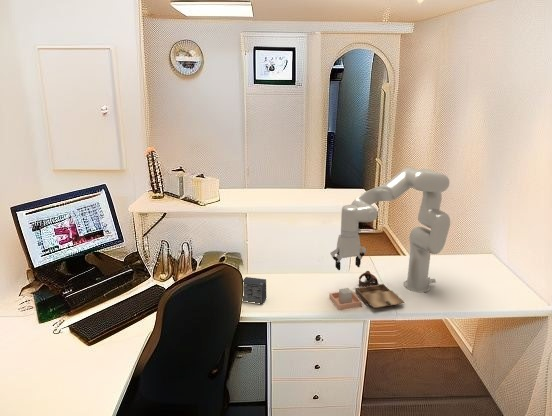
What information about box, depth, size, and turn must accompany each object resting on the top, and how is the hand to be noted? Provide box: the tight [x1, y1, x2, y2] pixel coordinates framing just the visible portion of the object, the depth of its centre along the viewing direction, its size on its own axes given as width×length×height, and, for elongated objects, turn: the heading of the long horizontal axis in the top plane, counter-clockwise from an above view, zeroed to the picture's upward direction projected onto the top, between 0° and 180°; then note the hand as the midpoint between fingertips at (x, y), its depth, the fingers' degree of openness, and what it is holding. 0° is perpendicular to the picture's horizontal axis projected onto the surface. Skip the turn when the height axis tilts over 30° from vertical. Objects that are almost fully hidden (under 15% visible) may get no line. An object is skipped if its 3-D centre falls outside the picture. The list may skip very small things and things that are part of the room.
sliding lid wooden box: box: [354, 283, 405, 309], centre depth 200 cm, size 16×19×4 cm
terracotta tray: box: [328, 290, 363, 311], centre depth 199 cm, size 11×11×3 cm
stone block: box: [338, 287, 353, 304], centre depth 198 cm, size 4×4×6 cm
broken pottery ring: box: [358, 270, 380, 287], centre depth 215 cm, size 12×10×8 cm
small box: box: [242, 276, 268, 305], centre depth 201 cm, size 11×6×10 cm, turn 74°
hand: (347, 267), depth 194 cm, fingers open, 9 cm apart
